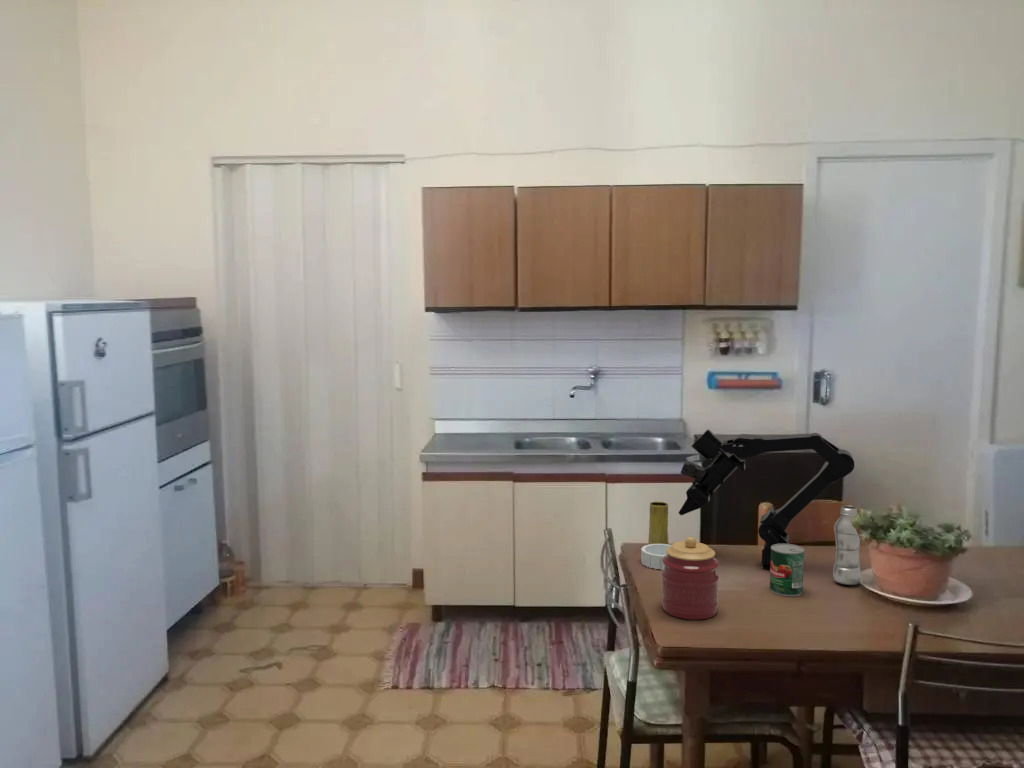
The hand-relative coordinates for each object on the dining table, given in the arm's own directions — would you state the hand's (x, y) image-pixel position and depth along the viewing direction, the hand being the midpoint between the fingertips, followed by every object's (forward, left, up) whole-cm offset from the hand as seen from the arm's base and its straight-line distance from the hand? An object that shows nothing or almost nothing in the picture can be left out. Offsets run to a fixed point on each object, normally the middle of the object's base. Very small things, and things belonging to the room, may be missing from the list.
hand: (682, 510), depth 216 cm
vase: (+8, -2, -14) cm, 16 cm away
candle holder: (+4, +8, -14) cm, 16 cm away
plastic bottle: (-43, +2, -14) cm, 46 cm away
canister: (-12, +37, -14) cm, 41 cm away
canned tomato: (-30, +14, -14) cm, 36 cm away
